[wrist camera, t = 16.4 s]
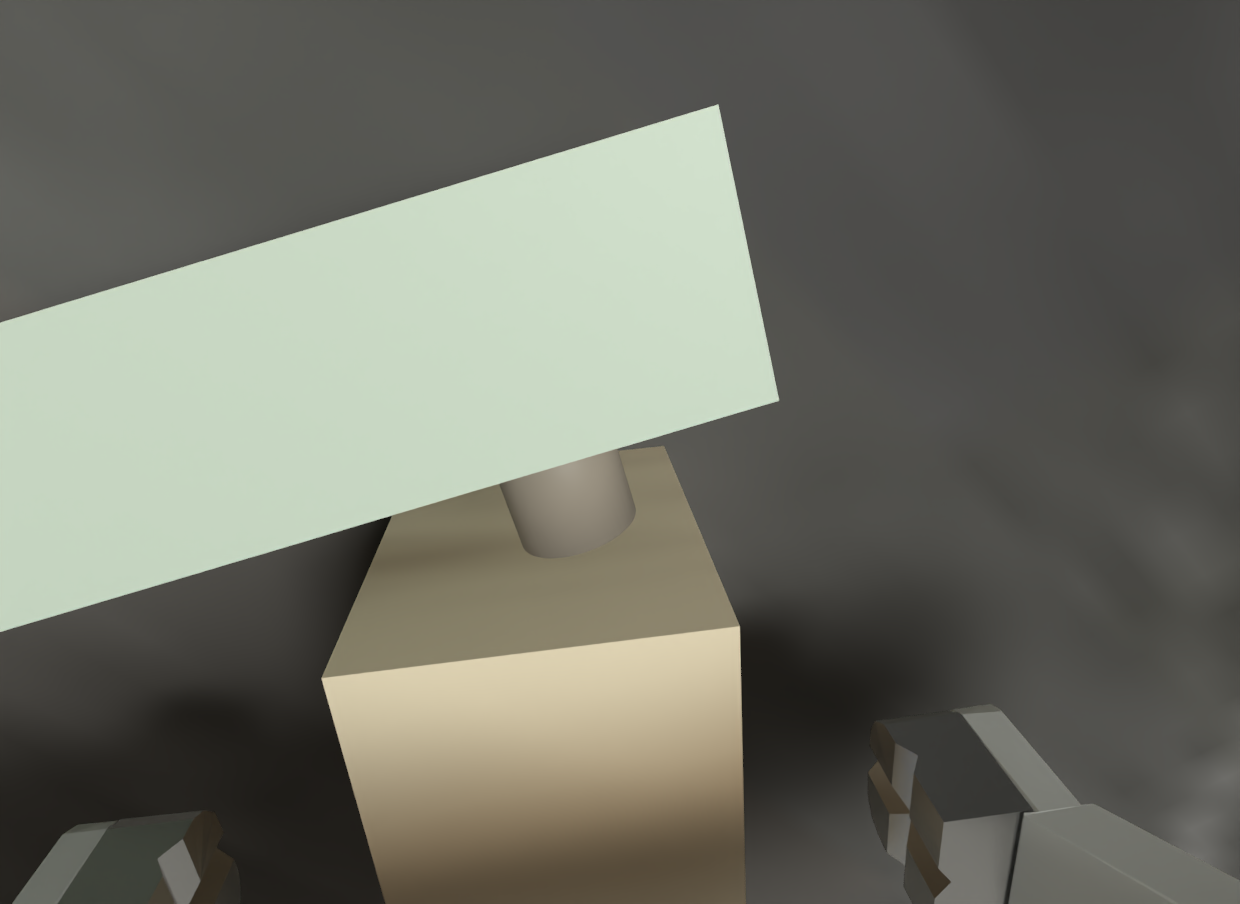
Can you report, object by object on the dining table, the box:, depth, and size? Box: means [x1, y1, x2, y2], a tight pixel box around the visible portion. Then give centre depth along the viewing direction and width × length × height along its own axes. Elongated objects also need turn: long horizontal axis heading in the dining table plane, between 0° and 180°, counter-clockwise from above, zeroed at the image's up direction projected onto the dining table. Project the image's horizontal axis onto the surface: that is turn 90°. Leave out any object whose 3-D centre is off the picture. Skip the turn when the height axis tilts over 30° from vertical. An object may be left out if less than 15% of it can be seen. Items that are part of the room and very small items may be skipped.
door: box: [0, 105, 779, 632], centre depth 7 cm, size 13×3×6 cm, turn 106°
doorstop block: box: [321, 446, 746, 904], centre depth 10 cm, size 6×4×5 cm, turn 4°
